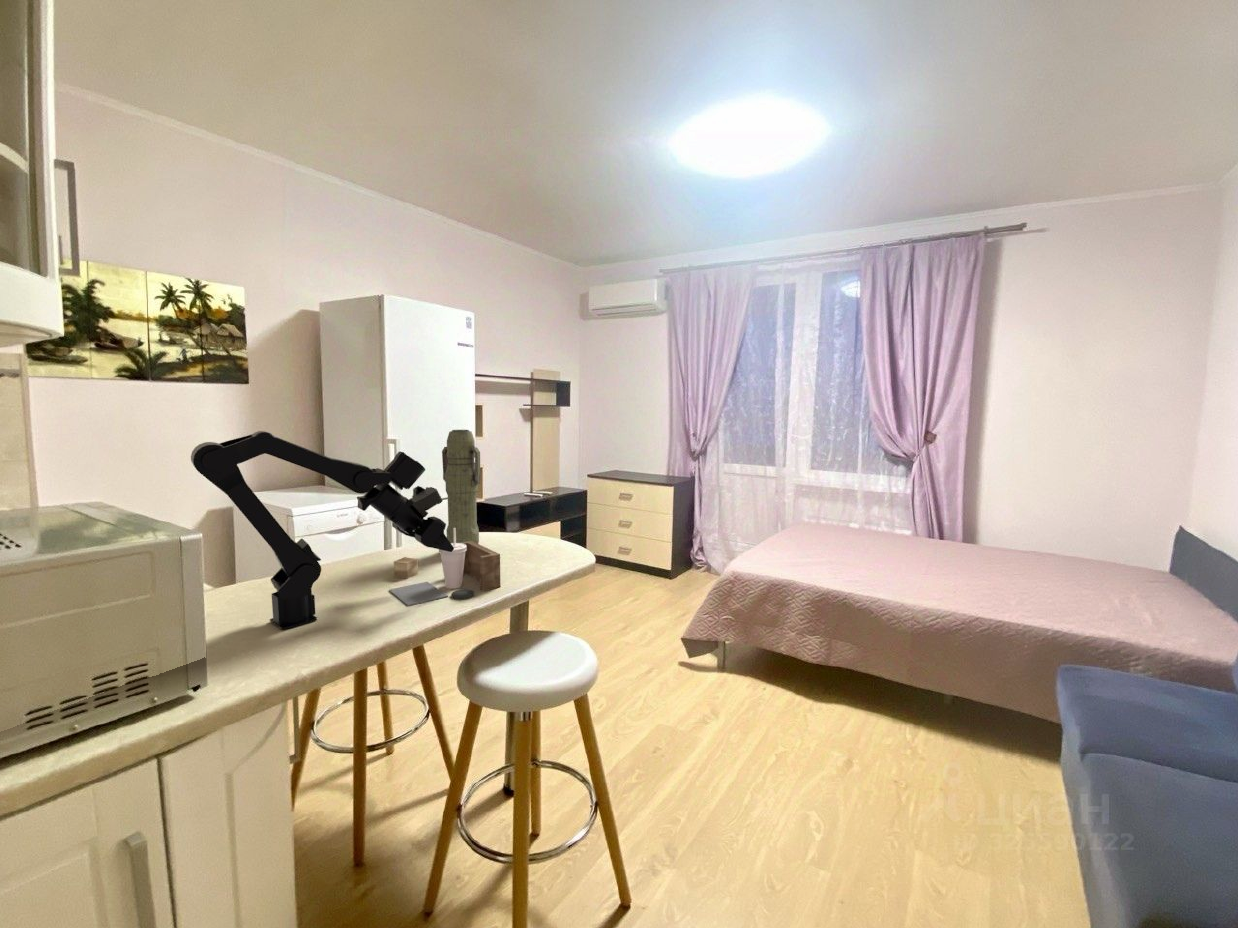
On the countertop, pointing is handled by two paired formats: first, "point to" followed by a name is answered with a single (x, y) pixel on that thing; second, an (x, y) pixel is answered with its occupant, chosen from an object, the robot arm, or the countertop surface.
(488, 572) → the cubby
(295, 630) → the countertop surface
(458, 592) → the dark grey disc
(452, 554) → the smoothie
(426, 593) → the mat
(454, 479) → the thermos
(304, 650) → the countertop surface
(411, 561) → the oak cube
